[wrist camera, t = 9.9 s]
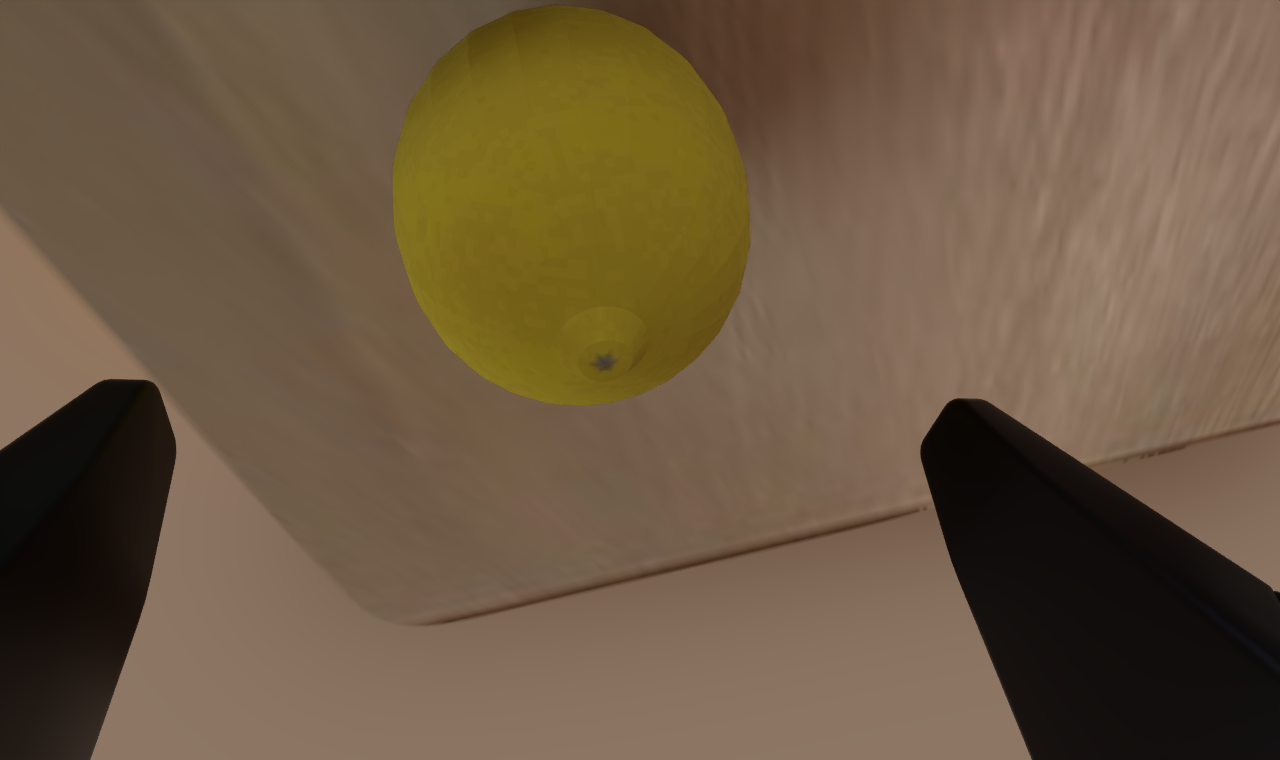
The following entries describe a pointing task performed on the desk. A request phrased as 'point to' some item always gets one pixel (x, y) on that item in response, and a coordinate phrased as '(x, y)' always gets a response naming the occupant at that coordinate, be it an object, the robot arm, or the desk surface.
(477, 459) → the desk surface
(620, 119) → the lemon
